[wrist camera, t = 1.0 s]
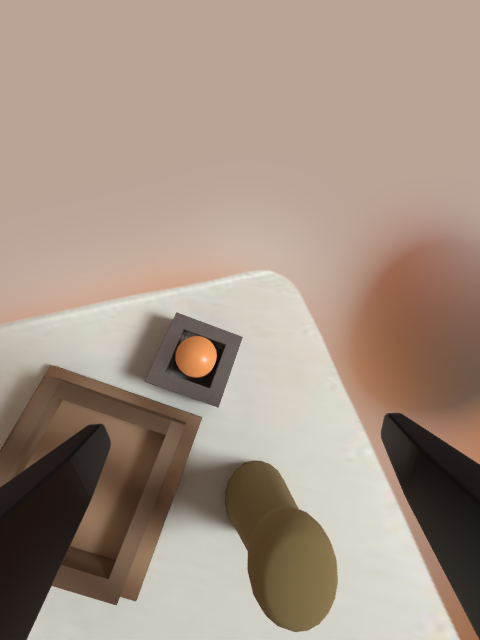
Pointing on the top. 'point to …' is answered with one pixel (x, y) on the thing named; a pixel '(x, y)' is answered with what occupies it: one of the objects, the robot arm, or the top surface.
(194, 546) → the top surface
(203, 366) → the button
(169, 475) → the wooden serving tray
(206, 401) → the button housing
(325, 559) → the cork
